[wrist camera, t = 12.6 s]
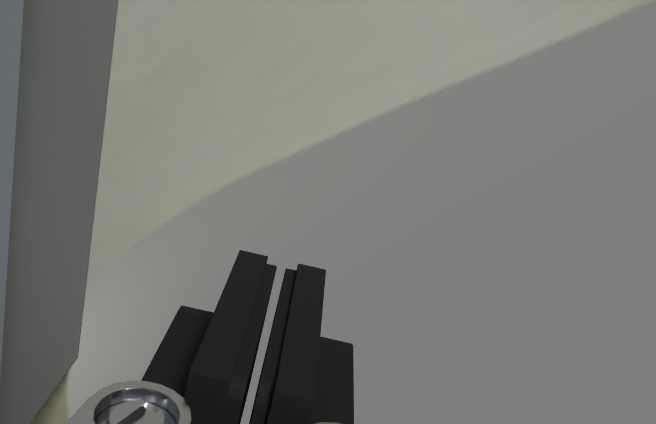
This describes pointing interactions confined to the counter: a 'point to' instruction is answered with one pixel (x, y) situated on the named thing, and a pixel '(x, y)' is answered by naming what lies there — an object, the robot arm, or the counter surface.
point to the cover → (7, 128)
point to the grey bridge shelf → (53, 194)
